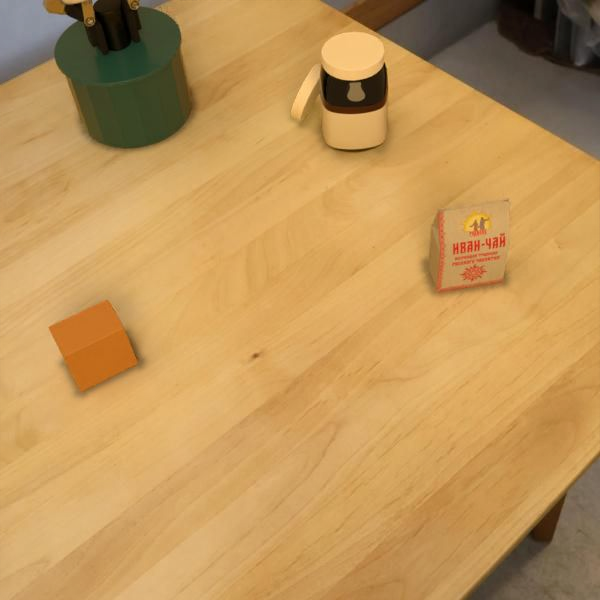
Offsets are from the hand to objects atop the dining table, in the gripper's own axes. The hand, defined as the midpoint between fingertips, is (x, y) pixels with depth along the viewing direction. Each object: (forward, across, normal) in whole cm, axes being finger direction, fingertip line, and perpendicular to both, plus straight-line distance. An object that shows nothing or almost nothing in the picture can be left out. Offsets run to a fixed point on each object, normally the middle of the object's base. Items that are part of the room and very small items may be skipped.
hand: (117, 41), depth 98 cm
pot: (+10, 0, 0) cm, 10 cm away
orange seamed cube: (+10, +18, +33) cm, 39 cm away
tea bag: (+10, -18, +43) cm, 48 cm away
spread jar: (+10, -19, +17) cm, 28 cm away
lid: (+1, 0, 0) cm, 1 cm away
